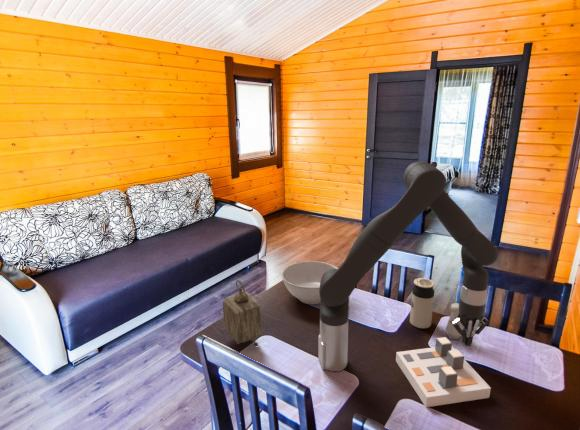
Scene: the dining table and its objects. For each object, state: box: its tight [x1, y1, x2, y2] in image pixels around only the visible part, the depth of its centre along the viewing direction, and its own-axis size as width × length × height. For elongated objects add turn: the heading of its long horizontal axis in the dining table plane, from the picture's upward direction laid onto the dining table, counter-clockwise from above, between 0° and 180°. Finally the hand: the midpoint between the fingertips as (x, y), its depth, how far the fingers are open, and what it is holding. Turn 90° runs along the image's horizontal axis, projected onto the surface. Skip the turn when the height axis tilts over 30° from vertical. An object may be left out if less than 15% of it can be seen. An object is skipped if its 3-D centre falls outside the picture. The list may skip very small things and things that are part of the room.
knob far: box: [434, 336, 453, 356], centre depth 118 cm, size 4×4×5 cm
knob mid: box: [446, 349, 465, 370], centre depth 112 cm, size 4×4×5 cm
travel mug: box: [409, 277, 435, 329], centre depth 140 cm, size 8×8×18 cm
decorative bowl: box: [281, 260, 339, 305], centre depth 162 cm, size 27×27×12 cm
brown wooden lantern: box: [222, 279, 263, 347], centre depth 130 cm, size 14×9×25 cm, turn 32°
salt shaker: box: [445, 302, 462, 340], centre depth 132 cm, size 6×6×13 cm
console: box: [395, 346, 492, 408], centre depth 113 cm, size 20×20×4 cm
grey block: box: [438, 366, 458, 388], centre depth 105 cm, size 4×4×5 cm
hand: (466, 344), depth 120 cm, fingers closed
